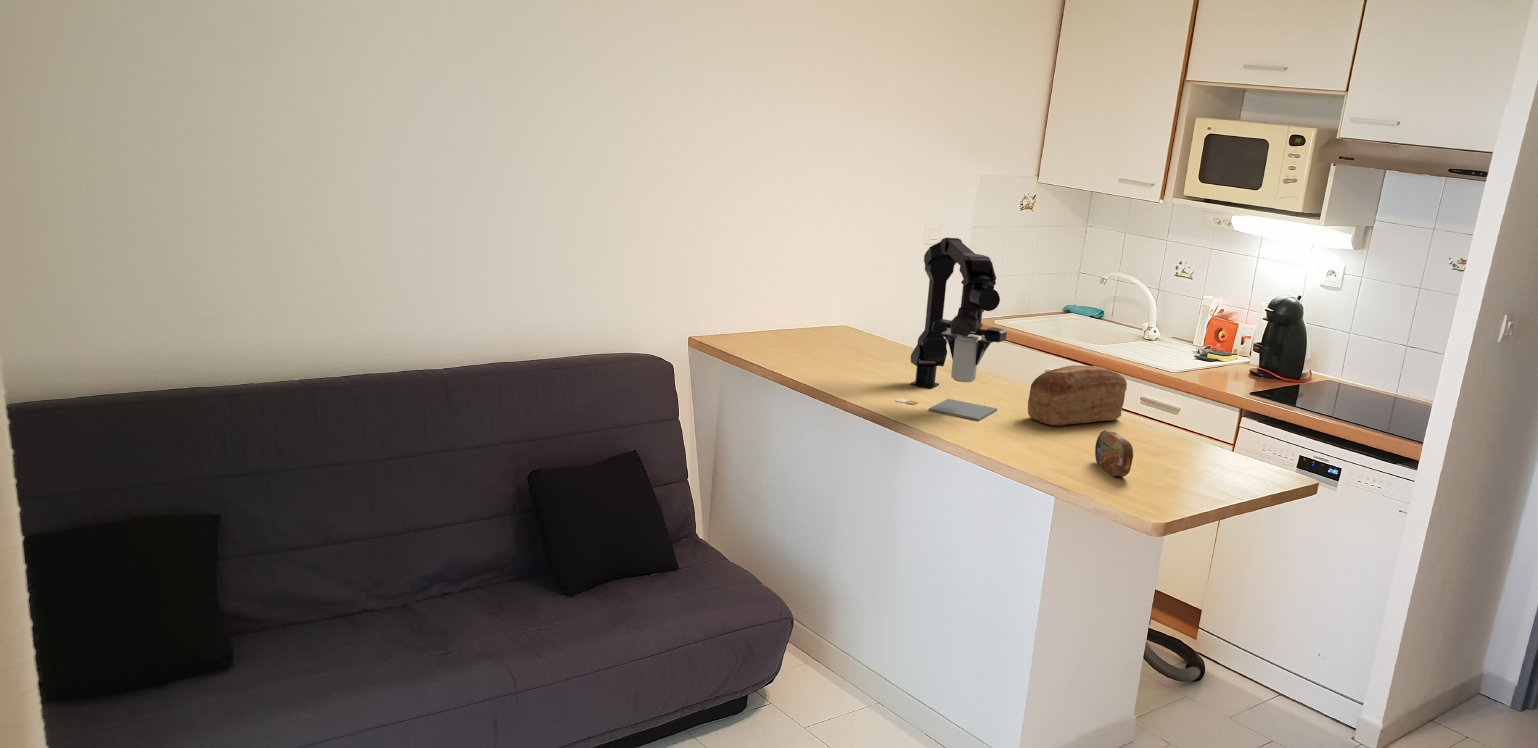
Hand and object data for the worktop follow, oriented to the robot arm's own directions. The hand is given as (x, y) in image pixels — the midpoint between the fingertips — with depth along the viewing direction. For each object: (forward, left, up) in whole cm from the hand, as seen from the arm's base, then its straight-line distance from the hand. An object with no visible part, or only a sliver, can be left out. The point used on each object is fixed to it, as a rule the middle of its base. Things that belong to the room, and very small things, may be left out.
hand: (965, 362), depth 281 cm
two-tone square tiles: (+3, -14, -13) cm, 19 cm away
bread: (-14, +27, -13) cm, 33 cm away
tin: (+25, +46, -13) cm, 54 cm away
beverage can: (0, 0, -5) cm, 5 cm away
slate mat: (0, +1, -13) cm, 13 cm away
